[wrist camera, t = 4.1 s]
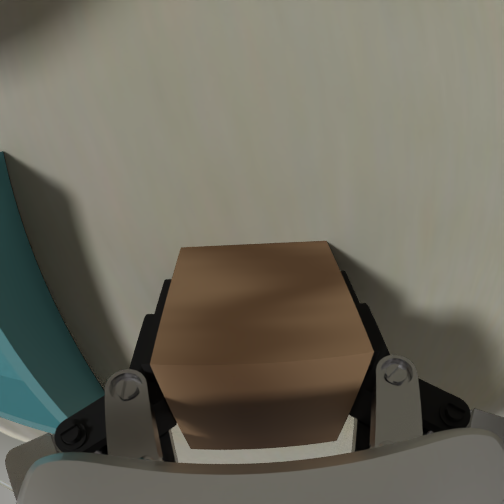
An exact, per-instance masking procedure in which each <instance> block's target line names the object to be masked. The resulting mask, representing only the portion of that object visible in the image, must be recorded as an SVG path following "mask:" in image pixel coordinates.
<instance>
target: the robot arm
mask: <svg viewBox="0 0 504 504" xmlns="http://www.w3.org/2000/svg"><path fill="white" fill-rule="evenodd" d="M340 272H341V274H342V276H343V278H344V281H345V283H346V285H347V288H348V290H349V292H350V295H351V297H352V299H353V302H354V304H355V306H356V309H357V311H358V313H359V316H360V318H361V321H362V323H363V326H364V328H365V330H366V333H367V335H368V338H369V340H370V343H371V345H372V348H373V351H374V353H373V356H372V359H371V361H370V364H369V367H368V369H367V372H366V375H365V377H364V380H363V382H362V385H361V387H360V389H359V392H358V394H357V397H356V399H355V401H354V404H353V406H352V408H351V411H350V413H349V415H351V416H352V417H354V430H353V442H352V452H351V453H346V454H340V455H334V456H328V457H321V458H313V459H305V460H296V461H286V462H273V463H256V464H192V463H178V459H177V454H176V450H175V446H174V441H173V436H172V432H171V428H172V427H174V426H175V425H176V424H177V422H176V420H175V418H174V416H173V414H172V412H171V409H170V407H169V405H168V403H167V401H166V399H165V397H164V395H163V393H162V391H161V388H160V386H159V384H158V382H157V379H156V377H155V375H154V373H153V370H152V368H151V366H150V362H151V357H152V353H153V349H154V345H155V341H156V337H157V333H158V329H159V325H160V321H161V317H162V313H163V310H164V306H165V302H166V298H167V295H168V291H169V287H170V284H171V280H172V279H166V280H165V281H164V284H163V287H162V290H161V294H160V297H159V300H158V304H157V307H156V311H155V314H147V315H146V316H145V318H144V321H143V324H142V327H141V331H140V334H139V337H138V341H137V344H136V347H135V351H134V354H133V358H132V361H131V365H130V369H124V370H121V371H118V372H116V373H114V374H113V375H112V376H111V377H110V378H109V379H108V380H107V382H106V384H105V395H104V396H102V397H101V398H99V399H98V400H96V401H94V402H93V403H91V404H90V405H88V406H86V407H85V408H83V409H82V410H80V411H78V412H77V413H75V414H73V415H72V416H70V417H69V418H67V419H65V420H64V421H62V422H61V423H60V424H59V425H58V427H57V428H56V431H55V433H54V434H52V435H51V434H50V433H47V434H45V435H42V436H40V437H38V438H36V439H33V440H31V441H29V442H27V443H25V444H22V445H20V446H17V447H15V448H13V449H12V450H10V451H9V452H8V454H7V455H6V460H5V464H6V469H7V472H8V476H9V479H10V482H11V486H12V489H13V492H14V495H15V498H16V500H17V503H16V504H504V418H503V417H500V416H497V415H494V414H491V413H488V412H485V411H482V410H479V409H476V408H474V409H473V411H472V410H470V409H469V407H468V405H467V404H466V403H465V402H464V401H463V400H462V399H460V398H458V397H456V396H454V395H452V394H450V393H448V392H446V391H444V390H441V389H439V388H437V387H435V386H433V385H431V384H429V383H427V382H425V381H423V380H421V379H419V378H418V373H417V369H416V367H415V365H414V364H413V362H411V361H410V360H409V359H408V358H406V357H403V356H400V355H390V354H389V351H388V349H387V347H386V344H385V342H384V340H383V337H382V335H381V333H380V331H379V328H378V326H377V324H376V322H375V319H374V317H373V315H372V313H371V311H370V309H369V307H368V305H367V304H366V303H363V304H360V303H359V301H358V299H357V296H356V294H355V292H354V290H353V288H352V285H351V283H350V281H349V279H348V277H347V274H346V272H345V271H340Z"/></svg>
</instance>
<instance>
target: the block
mask: <svg viewBox="0 0 504 504" xmlns="http://www.w3.org/2000/svg"><path fill="white" fill-rule="evenodd" d="M373 353H374V351H373V348H372V345H371V343H370V340H369V338H368V335H367V333H366V330H365V328H364V326H363V323H362V321H361V318H360V316H359V313H358V311H357V309H356V306H355V304H354V302H353V299H352V297H351V295H350V292H349V290H348V288H347V285H346V283H345V281H344V278H343V276H342V274H341V272H340V269H339V267H338V265H337V263H336V261H335V258H334V256H333V254H332V252H331V250H330V248H329V245H328V243H327V241H312V242H289V243H267V244H245V245H224V246H204V247H184V248H181V249H180V253H179V256H178V259H177V263H176V266H175V270H174V273H173V277H172V280H171V284H170V287H169V291H168V295H167V298H166V302H165V306H164V310H163V313H162V317H161V321H160V325H159V329H158V333H157V337H156V341H155V345H154V349H153V353H152V357H151V362H150V366H151V368H152V370H153V373H154V375H155V377H156V379H157V382H158V384H159V386H160V388H161V391H162V393H163V395H164V397H165V399H166V401H167V403H168V405H169V407H170V409H171V412H172V414H173V416H174V418H175V420H176V422H177V423H178V425H179V427H180V429H181V431H182V433H183V435H184V437H185V439H186V441H187V443H188V444H189V446H190V448H191V449H212V450H234V449H262V448H277V447H289V446H299V445H308V444H316V443H324V442H330V441H337V438H338V436H339V434H340V432H341V430H342V428H343V426H344V424H345V422H346V419H347V417H348V415H349V413H350V411H351V408H352V406H353V404H354V401H355V399H356V397H357V394H358V392H359V389H360V387H361V385H362V382H363V380H364V377H365V375H366V372H367V369H368V367H369V364H370V361H371V359H372V356H373Z"/></svg>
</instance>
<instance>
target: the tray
mask: <svg viewBox="0 0 504 504" xmlns="http://www.w3.org/2000/svg"><path fill="white" fill-rule="evenodd" d="M104 395H105V391H104V390H103V388H102V387H101V385H100V384H99V382H98V381H97V379H96V378H95V376H94V374H93V373H92V371H91V369H90V368H89V366H88V365H87V363H86V361H85V360H84V358H83V356H82V354H81V353H80V351H79V349H78V347H77V346H76V344H75V342H74V340H73V338H72V337H71V335H70V333H69V331H68V329H67V327H66V325H65V323H64V321H63V319H62V317H61V315H60V313H59V311H58V309H57V307H56V305H55V303H54V301H53V299H52V297H51V295H50V292H49V290H48V288H47V286H46V284H45V281H44V279H43V277H42V274H41V272H40V269H39V267H38V265H37V262H36V260H35V257H34V254H33V252H32V249H31V247H30V244H29V241H28V238H27V236H26V233H25V230H24V227H23V224H22V221H21V218H20V215H19V211H18V208H17V205H16V201H15V198H14V194H13V191H12V187H11V183H10V180H9V176H8V171H7V167H6V163H5V158H4V154H3V151H2V152H0V417H2V418H5V419H8V420H11V421H13V422H16V423H19V424H22V425H25V426H29V427H32V428H35V429H38V430H42V431H45V432H49V433H52V434H54V433H55V431H56V428H57V427H58V425H59V424H60V423H61V422H62V421H64V420H65V419H67V418H69V417H70V416H72V415H73V414H75V413H77V412H78V411H80V410H82V409H83V408H85V407H86V406H88V405H90V404H91V403H93V402H94V401H96V400H98V399H99V398H101V397H102V396H104Z"/></svg>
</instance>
